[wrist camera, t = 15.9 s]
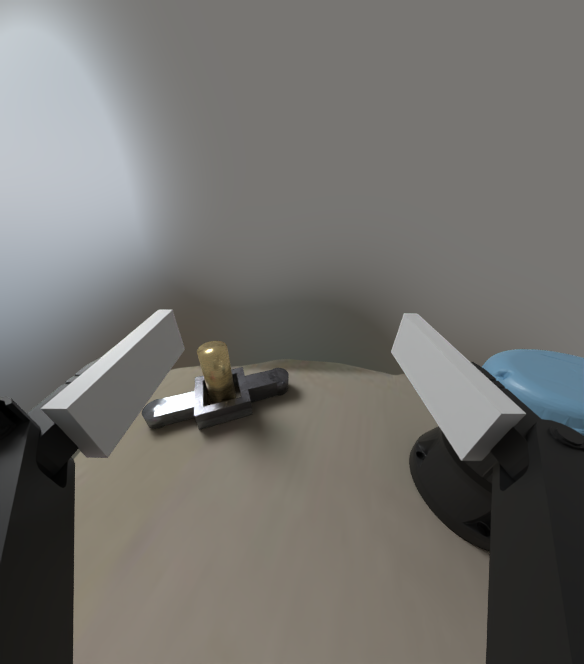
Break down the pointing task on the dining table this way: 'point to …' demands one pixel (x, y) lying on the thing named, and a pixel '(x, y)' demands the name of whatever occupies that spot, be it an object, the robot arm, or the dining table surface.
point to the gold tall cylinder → (217, 371)
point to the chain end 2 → (250, 391)
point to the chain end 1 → (183, 411)
